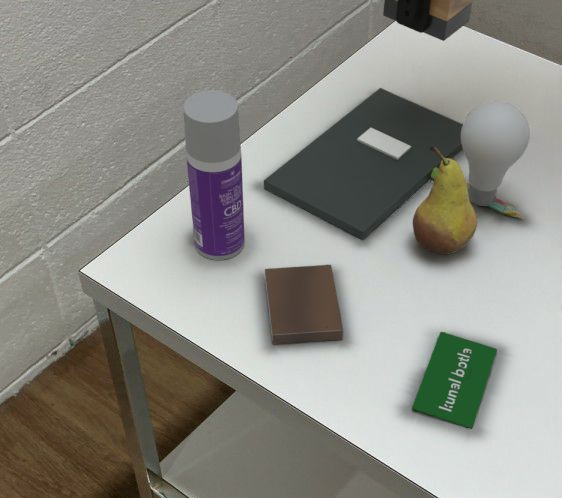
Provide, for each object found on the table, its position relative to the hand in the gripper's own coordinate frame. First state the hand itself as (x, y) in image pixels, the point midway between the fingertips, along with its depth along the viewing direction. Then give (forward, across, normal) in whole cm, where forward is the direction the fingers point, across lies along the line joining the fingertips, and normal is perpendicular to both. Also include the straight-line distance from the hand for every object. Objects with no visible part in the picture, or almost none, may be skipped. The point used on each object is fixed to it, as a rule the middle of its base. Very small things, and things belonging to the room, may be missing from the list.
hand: (426, 13), depth 90 cm
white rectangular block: (+11, -6, -1) cm, 13 cm away
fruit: (+13, -14, -13) cm, 23 cm away
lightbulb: (+12, -7, -12) cm, 19 cm away
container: (+13, -27, +3) cm, 30 cm away
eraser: (+1, 0, 0) cm, 1 cm away
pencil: (+13, -6, -8) cm, 16 cm away
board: (+12, -8, -1) cm, 15 cm away
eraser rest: (+12, -29, -8) cm, 32 cm away
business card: (+12, -26, -25) cm, 38 cm away
